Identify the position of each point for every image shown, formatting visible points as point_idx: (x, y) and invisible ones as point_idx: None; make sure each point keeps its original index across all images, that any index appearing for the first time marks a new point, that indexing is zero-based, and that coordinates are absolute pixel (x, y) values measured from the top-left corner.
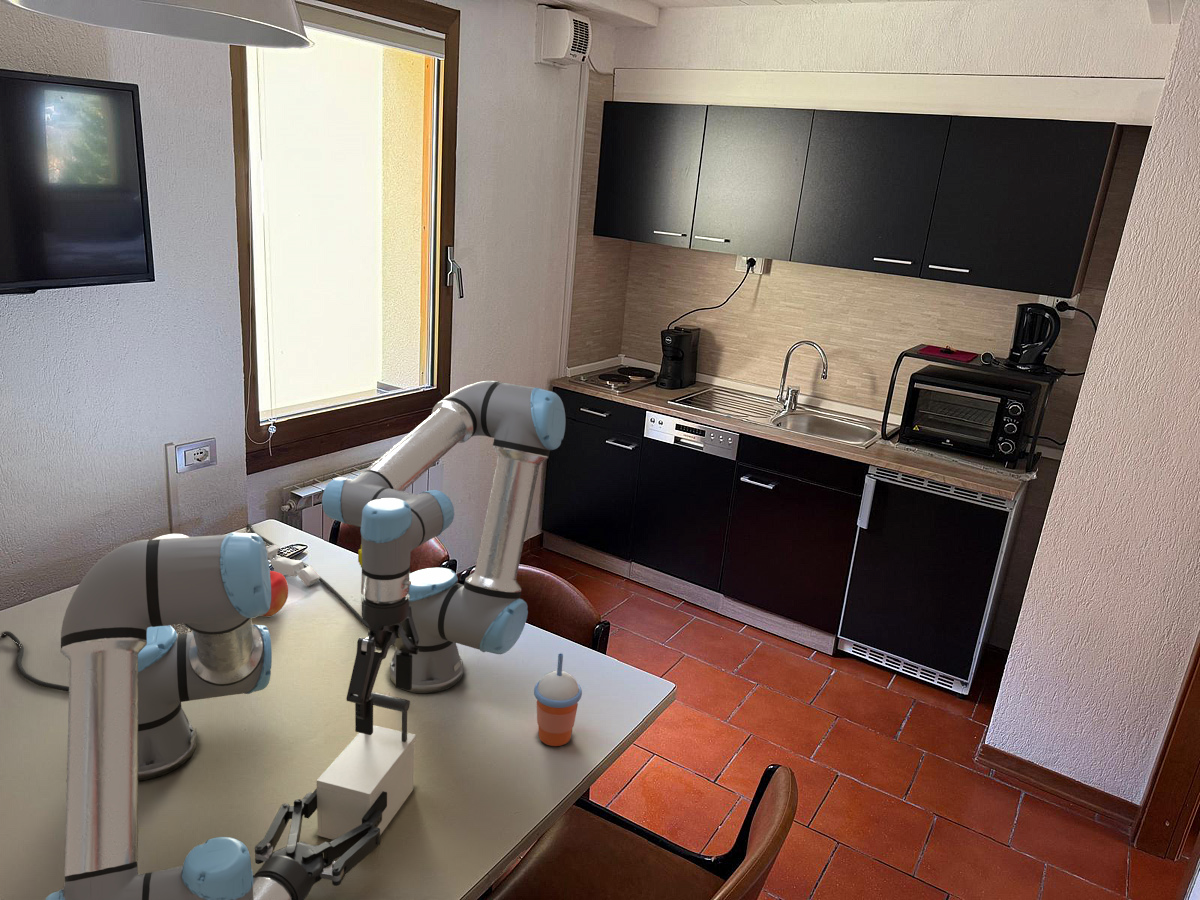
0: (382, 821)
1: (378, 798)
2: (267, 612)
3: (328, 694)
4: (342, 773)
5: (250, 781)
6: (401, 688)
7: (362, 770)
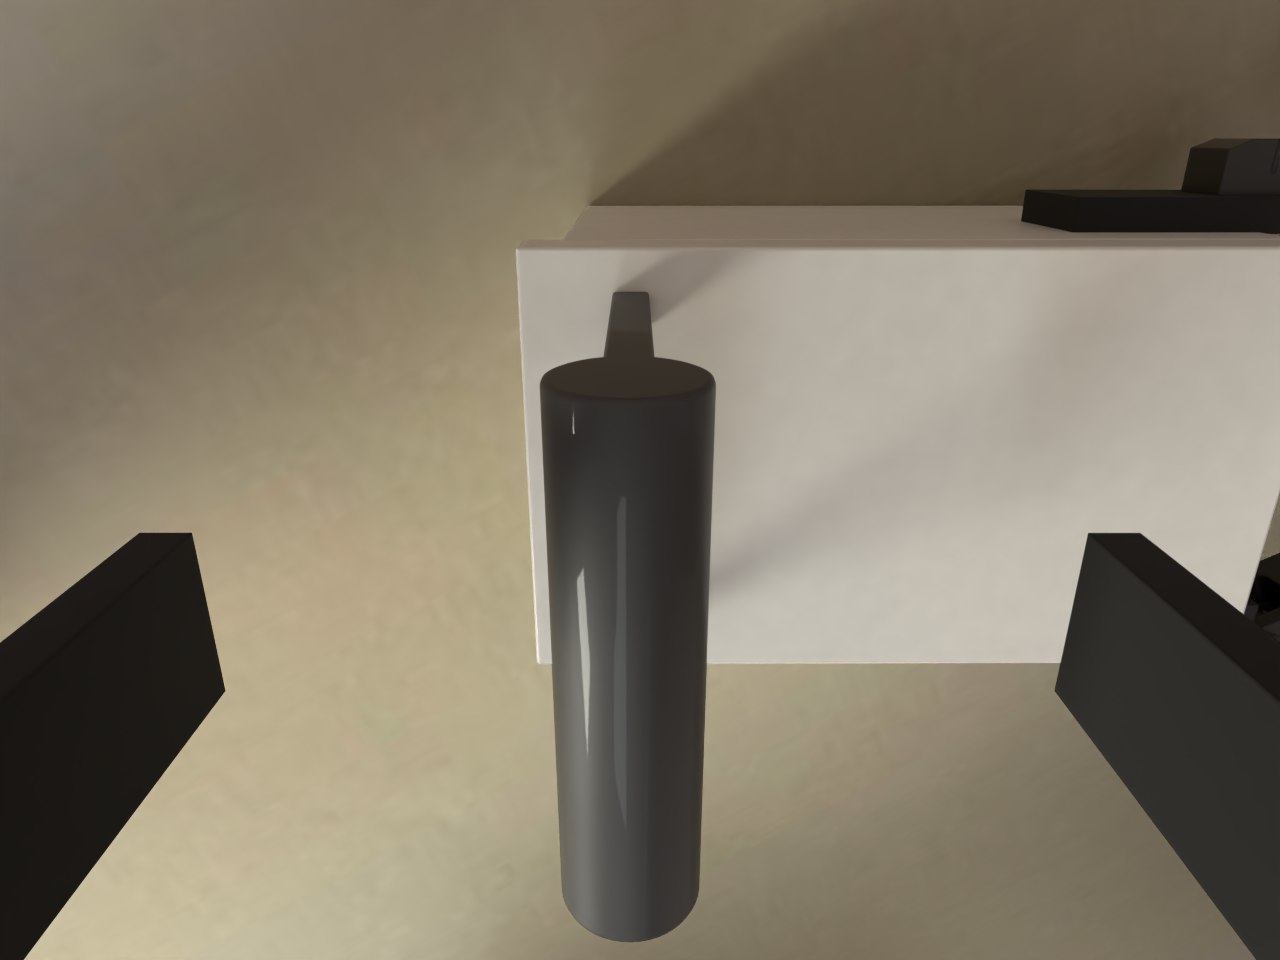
0: (977, 211)
1: (1156, 224)
2: None
3: (136, 912)
4: None
5: (785, 877)
6: (211, 630)
7: (1079, 438)
